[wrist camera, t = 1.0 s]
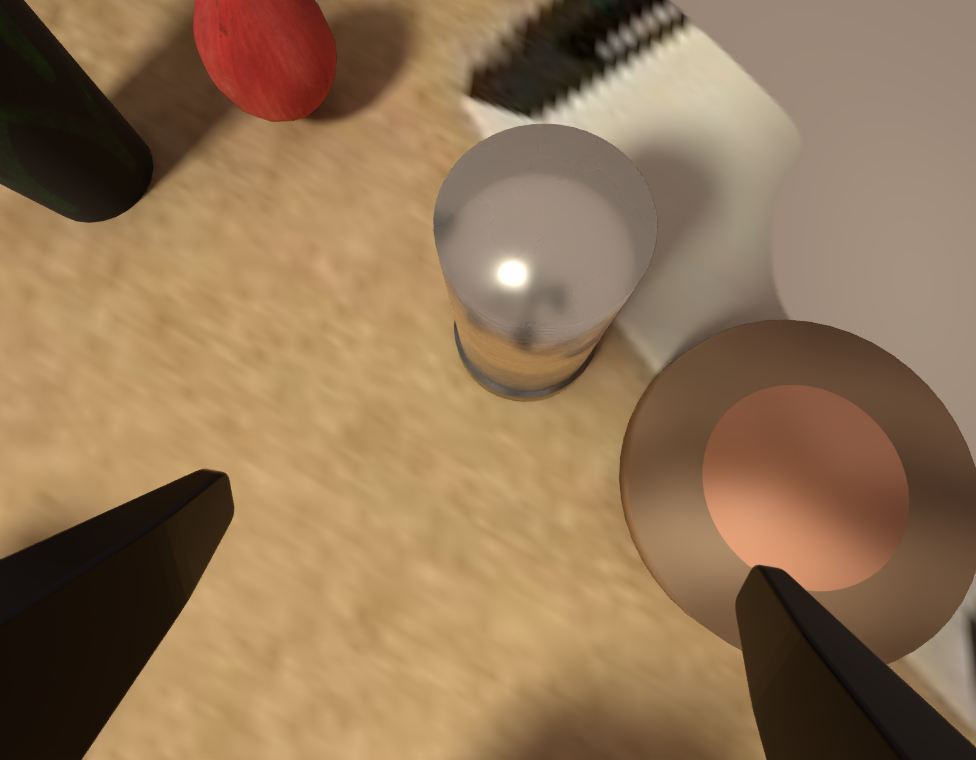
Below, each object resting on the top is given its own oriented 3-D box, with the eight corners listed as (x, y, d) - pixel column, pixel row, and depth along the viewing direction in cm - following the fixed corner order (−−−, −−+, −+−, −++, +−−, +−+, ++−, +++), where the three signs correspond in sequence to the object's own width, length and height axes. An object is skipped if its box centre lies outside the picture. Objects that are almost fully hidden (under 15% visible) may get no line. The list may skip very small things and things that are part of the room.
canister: (594, 403, 22) (670, 337, 12) (453, 399, 22) (418, 330, 13) (592, 272, 24) (660, 119, 14) (459, 268, 24) (433, 116, 14)
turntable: (942, 655, 20) (1016, 682, 17) (617, 641, 20) (636, 665, 17) (896, 343, 22) (952, 323, 20) (610, 336, 23) (626, 315, 20)
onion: (223, 113, 26) (104, -50, 18) (303, 45, 27) (223, -138, 19) (297, 178, 25) (206, 38, 17) (378, 106, 26) (326, -60, 18)
